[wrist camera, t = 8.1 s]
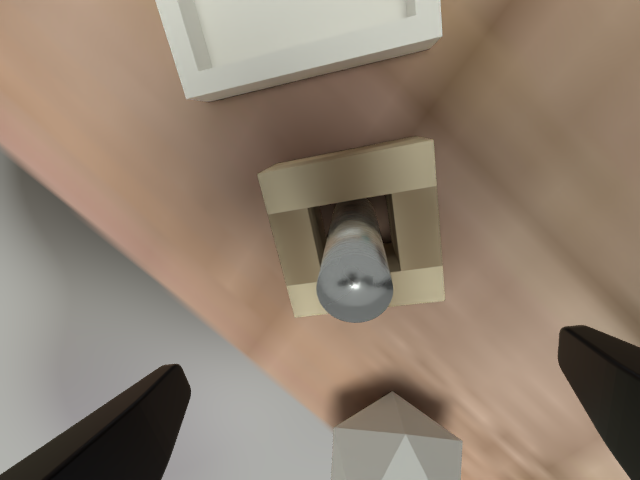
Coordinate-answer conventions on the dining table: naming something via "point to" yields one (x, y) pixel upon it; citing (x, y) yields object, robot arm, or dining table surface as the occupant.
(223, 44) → the tray
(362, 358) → the dining table surface
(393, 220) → the hollow square frame
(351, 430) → the die
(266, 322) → the dining table surface
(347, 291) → the rod
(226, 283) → the dining table surface
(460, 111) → the dining table surface
